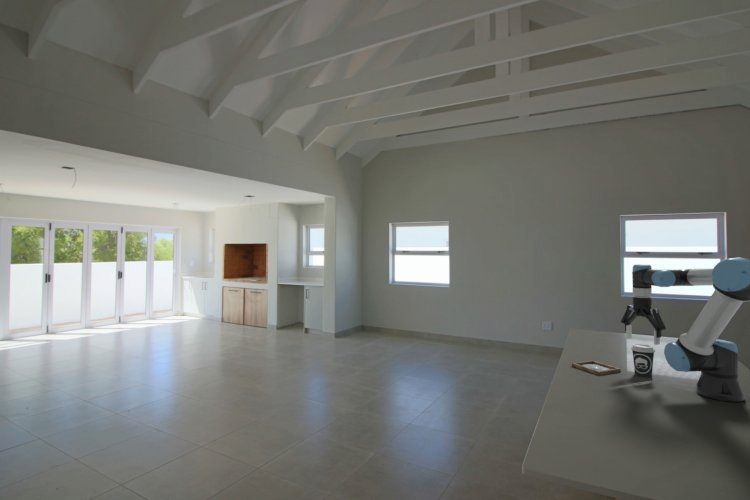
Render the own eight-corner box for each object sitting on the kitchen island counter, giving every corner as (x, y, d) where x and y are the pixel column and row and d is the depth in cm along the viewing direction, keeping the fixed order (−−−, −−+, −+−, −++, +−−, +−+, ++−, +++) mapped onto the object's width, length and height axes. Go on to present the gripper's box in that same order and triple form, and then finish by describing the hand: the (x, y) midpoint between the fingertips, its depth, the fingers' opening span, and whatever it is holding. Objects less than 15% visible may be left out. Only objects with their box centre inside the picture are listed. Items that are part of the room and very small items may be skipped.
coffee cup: (660, 380, 184) (660, 348, 184) (639, 380, 184) (639, 348, 184) (646, 374, 193) (646, 343, 193) (627, 374, 193) (626, 343, 193)
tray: (620, 374, 193) (620, 368, 193) (599, 377, 188) (599, 371, 188) (592, 365, 208) (592, 360, 208) (572, 368, 203) (571, 363, 203)
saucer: (617, 371, 194) (617, 369, 194) (597, 374, 190) (597, 372, 190) (594, 364, 207) (594, 362, 207) (575, 367, 202) (575, 365, 202)
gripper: (674, 299, 178) (675, 346, 178) (623, 293, 202) (623, 335, 202) (663, 300, 176) (663, 347, 176) (612, 294, 199) (613, 336, 199)
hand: (642, 341), depth 189 cm, fingers open, 13 cm apart
